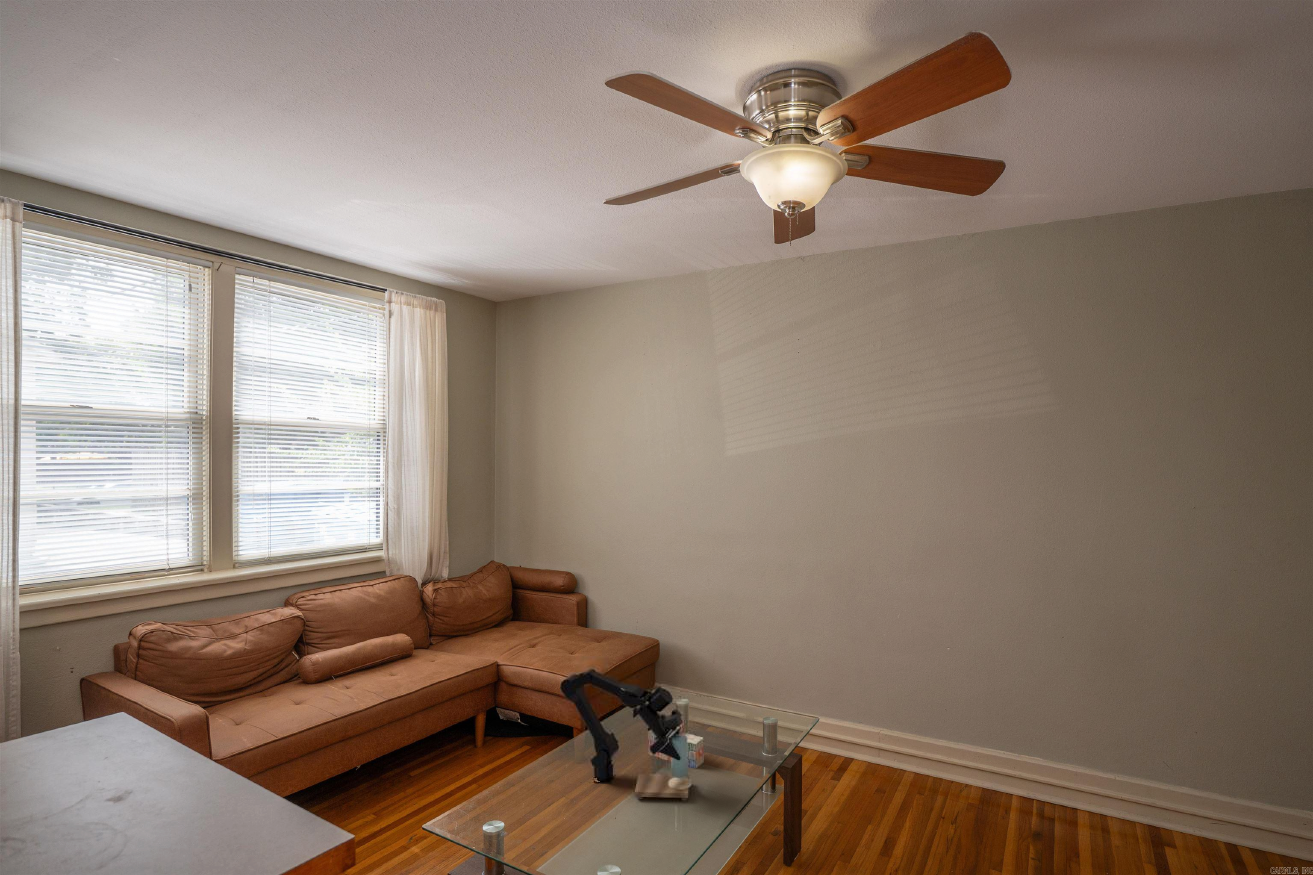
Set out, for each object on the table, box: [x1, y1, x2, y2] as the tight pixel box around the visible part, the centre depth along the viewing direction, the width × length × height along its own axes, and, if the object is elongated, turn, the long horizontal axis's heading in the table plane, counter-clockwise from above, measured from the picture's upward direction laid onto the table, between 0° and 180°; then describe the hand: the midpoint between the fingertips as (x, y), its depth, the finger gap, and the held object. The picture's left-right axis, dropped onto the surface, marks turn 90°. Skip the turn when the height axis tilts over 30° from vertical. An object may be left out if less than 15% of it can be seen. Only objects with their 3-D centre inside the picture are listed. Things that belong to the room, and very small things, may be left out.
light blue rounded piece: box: [670, 734, 688, 778], centre depth 240 cm, size 6×6×12 cm
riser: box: [634, 773, 692, 802], centre depth 241 cm, size 19×12×3 cm, turn 85°
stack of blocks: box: [647, 723, 705, 769], centre depth 265 cm, size 21×6×12 cm, turn 57°
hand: (682, 755), depth 239 cm, fingers closed on light blue rounded piece, 6 cm apart
